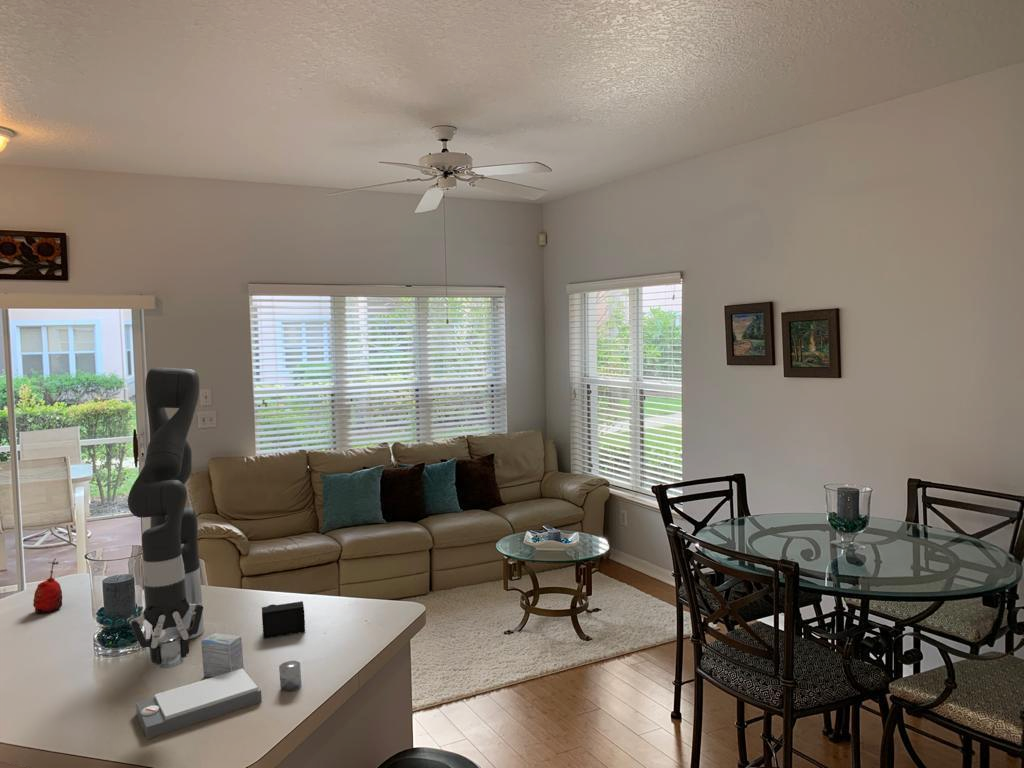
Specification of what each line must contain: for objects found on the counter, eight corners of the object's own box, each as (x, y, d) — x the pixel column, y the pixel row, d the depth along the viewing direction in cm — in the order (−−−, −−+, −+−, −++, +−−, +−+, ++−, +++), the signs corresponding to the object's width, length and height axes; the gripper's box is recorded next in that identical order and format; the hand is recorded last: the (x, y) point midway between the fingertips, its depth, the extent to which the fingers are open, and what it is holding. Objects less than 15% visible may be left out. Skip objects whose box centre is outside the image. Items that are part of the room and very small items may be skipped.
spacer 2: (277, 686, 160) (276, 664, 159) (297, 680, 162) (296, 658, 162) (284, 694, 156) (283, 672, 156) (304, 687, 159) (303, 665, 158)
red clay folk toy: (43, 605, 213) (39, 555, 212) (68, 603, 214) (64, 554, 212) (29, 616, 205) (24, 564, 204) (55, 614, 206) (51, 562, 205)
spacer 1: (157, 662, 148) (155, 639, 148) (180, 656, 151) (178, 633, 150) (161, 670, 145) (159, 646, 144) (184, 663, 147) (183, 640, 147)
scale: (136, 713, 150) (135, 699, 150) (245, 680, 163) (244, 666, 163) (147, 739, 140) (146, 723, 140) (261, 701, 153) (260, 687, 153)
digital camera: (304, 624, 193) (302, 599, 192) (305, 632, 188) (304, 606, 187) (263, 631, 190) (261, 605, 189) (263, 639, 185) (261, 612, 184)
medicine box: (244, 672, 167) (242, 635, 166) (231, 681, 163) (228, 644, 162) (217, 668, 169) (214, 632, 169) (203, 677, 165) (200, 640, 165)
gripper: (197, 566, 154) (202, 644, 155) (121, 581, 145) (128, 664, 147) (206, 575, 148) (211, 656, 149) (127, 592, 139) (134, 677, 141)
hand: (170, 659), depth 148 cm, fingers closed on spacer 1, 4 cm apart
